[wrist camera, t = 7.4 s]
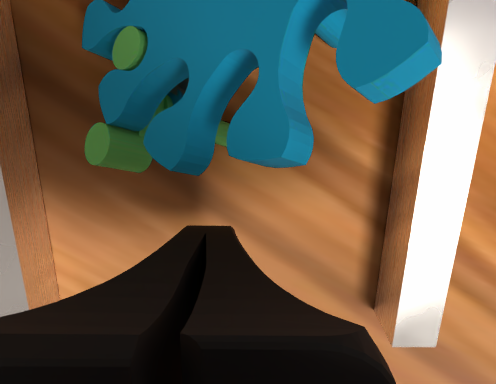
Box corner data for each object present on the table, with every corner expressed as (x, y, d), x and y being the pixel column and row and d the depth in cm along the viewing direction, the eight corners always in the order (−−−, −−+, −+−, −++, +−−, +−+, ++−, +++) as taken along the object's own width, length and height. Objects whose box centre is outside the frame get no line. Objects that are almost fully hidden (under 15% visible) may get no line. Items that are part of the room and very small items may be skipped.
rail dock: (565, -418, 9) (791, -744, 5) (425, 311, 16) (483, 394, 12) (-157, -443, 9) (-451, -803, 5) (8, 309, 15) (-68, 394, 12)
